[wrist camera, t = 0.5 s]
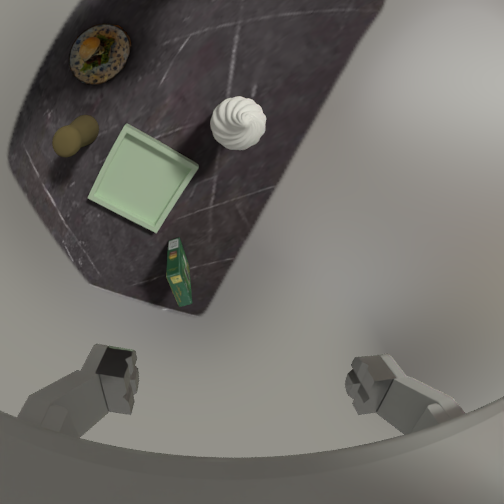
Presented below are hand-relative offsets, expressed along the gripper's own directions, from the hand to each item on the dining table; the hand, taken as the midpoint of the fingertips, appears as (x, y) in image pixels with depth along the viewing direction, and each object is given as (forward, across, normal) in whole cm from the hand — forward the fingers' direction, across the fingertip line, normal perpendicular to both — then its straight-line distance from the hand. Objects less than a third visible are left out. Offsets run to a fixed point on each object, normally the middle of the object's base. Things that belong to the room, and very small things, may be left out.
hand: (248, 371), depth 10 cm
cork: (+45, +28, -11) cm, 54 cm away
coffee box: (+54, +8, +15) cm, 57 cm away
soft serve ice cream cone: (+48, +1, -15) cm, 50 cm away
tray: (+49, +16, -1) cm, 52 cm away
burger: (+42, +25, -25) cm, 55 cm away
